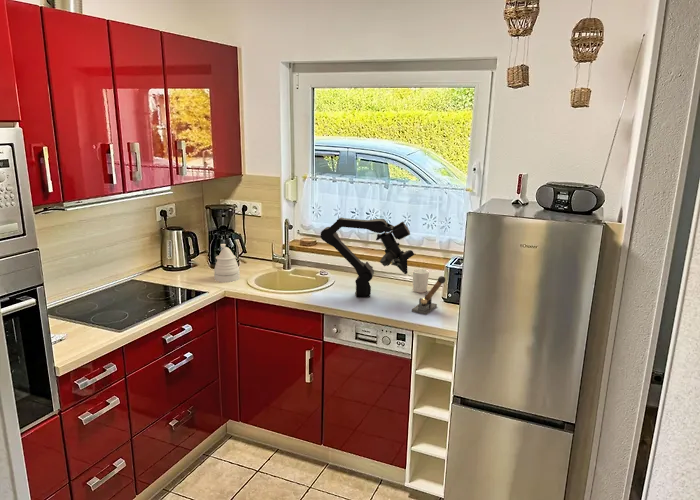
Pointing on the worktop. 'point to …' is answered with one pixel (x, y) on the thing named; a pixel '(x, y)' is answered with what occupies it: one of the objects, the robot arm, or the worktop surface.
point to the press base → (424, 306)
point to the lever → (435, 288)
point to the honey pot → (226, 266)
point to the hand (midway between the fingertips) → (406, 273)
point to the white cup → (420, 280)
